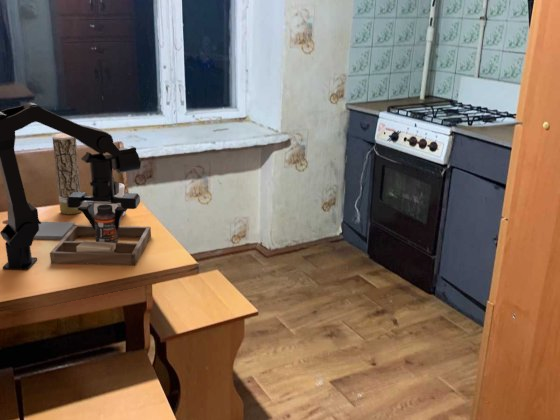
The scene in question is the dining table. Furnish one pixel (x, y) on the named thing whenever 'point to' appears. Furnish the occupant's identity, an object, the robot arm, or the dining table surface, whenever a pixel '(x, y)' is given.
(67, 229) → the mat
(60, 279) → the dining table surface
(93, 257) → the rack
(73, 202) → the robot arm
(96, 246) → the offcut top
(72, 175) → the patterned tall cylinder
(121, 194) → the cup
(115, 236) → the supplement bottle
